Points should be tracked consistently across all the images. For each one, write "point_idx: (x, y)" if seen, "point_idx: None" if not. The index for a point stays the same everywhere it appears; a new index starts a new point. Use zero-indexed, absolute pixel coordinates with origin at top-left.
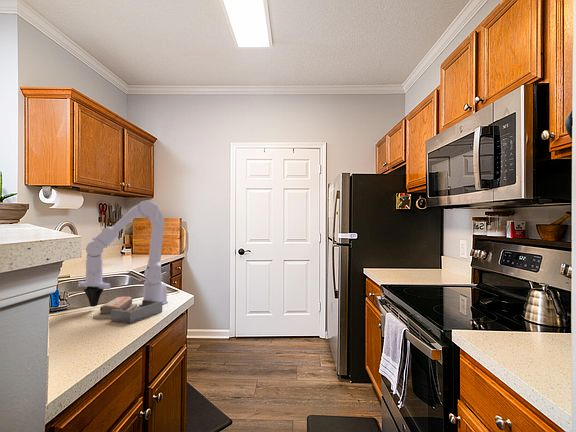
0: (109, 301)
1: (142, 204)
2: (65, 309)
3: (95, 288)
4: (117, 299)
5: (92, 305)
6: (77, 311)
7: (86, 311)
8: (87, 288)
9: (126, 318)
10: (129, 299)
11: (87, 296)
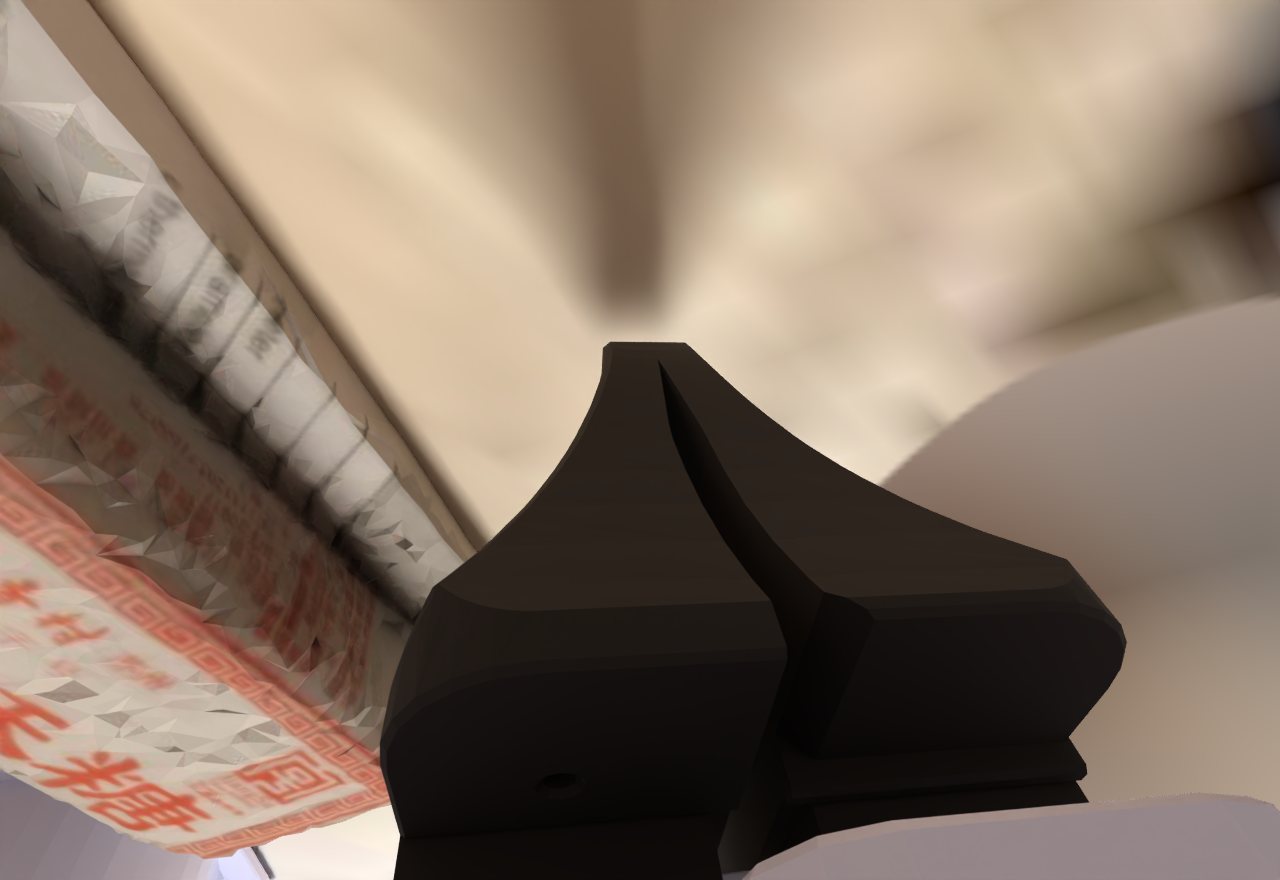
0: (80, 526)
1: None
2: (1251, 173)
3: (542, 847)
4: (116, 690)
5: (615, 350)
6: (897, 135)
7: (696, 211)
8: (1029, 755)
9: None
10: (33, 784)
11: (824, 459)
